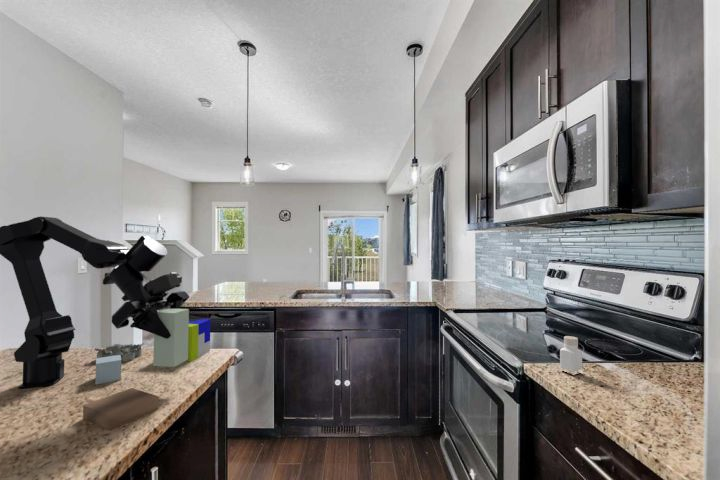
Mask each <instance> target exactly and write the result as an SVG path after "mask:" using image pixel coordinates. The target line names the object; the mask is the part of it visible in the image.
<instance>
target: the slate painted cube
mask: <svg viewBox="0 0 720 480" xmlns="http://www.w3.org/2000/svg"><path fill="white" fill-rule="evenodd" d="M116 381H122V360H121V355H115V356H109V357H102V358H97V357H96V359H95V384H94V385H101V384H106V383H111V382H116Z"/></svg>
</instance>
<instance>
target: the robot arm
mask: <svg viewBox="0 0 720 480" xmlns="http://www.w3.org/2000/svg"><path fill="white" fill-rule="evenodd" d="M51 240H54V241H56V243H57V242H58V243H60V244H62V245H64V246H66V247H68V248H70V249H72V250H74V251H75V252H78V253H79V254H80V255H81V257H82V259H83V260H84V261H85V262H86V263H87V264H88V265H90V266H92V267H93V268H94V269H110V268H113V269H111V271H110V272H105V273H104V277H103V279H102V284H103V285H105V286H107V285H113V284H115V285H116V286H117V288H118V289H119V291H120V292H121V293H122V294H123V296H122V297H121V299H122V301H123V302H124V303H123V304H122V305H121V306H119V308H118V309H117V310H116V311H115V313H113V314H112V315H111V324H112V325H113V326H114V327H115V329H117V330H118V329H121V328H124V327H128V326H130V328H131V329H132V328H135V329H138V330H142V331H144V332H149V333H150V334H153V335H154V334H156V335H158V336H161V337H163V338H166V339H168V338H169V337H170V336H171V334H170V333H169V331H168V329H167V328H166V327H165V325H164V324H163V322H162V321H161V320H160V318H159V317H158V315H157V312H158V311H162V310H165V309H169V308H173V309H181V307H182V306H183V305H184V304H185V303H186V301H188V299H190V295H189V294H188V293H187V292H186V291H184V290H183V291H181V290H180V291H174V292H171V293H170V294H169V291H171V290H172V289H175V288H179V287H181V284H182V282H183V277H182V276H180V275H179V273H177V272H176V271H171V272H170V273H168V274H162V275H160V276H158V277H156V278H152V279H151V278H150V279H148V277H147V276H146V275H145V274H144V273H143V272H151V271H152V270H153V269H154V268H155V267H156V266H157V265H158V264H159V263H160V262H161V261H162V260H163V259H164V258H165V257H166V256H167V255H168V249H167V248H166V246H164V244H162V243H160V242H159V241H157V240H155V239H152V238H151V237H150V236H149V235H141V236H140V237H139V238H138V240H137V242H135V243H134V245H132V246H131V248H130V249H129V248H128V247H127V246H126V245H125V244H121V243H119V242H114V241H112V240H111V241H110V240H105V239H99V238H96V237H95V236H93V235H90V234H88V233H86V232H84V231H82V230H80V229H79V228H76V227H74V226H72V225H70V224H67V223H65V222H63V220H61V219H60V218H57V217H52V216H51V217H50V216H40V215H39V216H37V217H33V218H31V219H29V220H24V221H21V222H16V223H11V224H8V225H2V226H0V255H1V257H3V258H4V259H6V260H7V261H9V263H11V265H12V268H13V271H14V275H15V279H16V280H17V284H18V286H19V287H18V288H19V290H20V292H21V296H22V299H23V303H24V305H25V309H26V312H27V315H28V319H29V320H28V322H27V325H26V327H25V329H24V332H23V334H24V339H25V341H24V342H23V343H22V344H20V345H19V347H18V348H17V349H16V350H14V352H13V356H14V360H15V362H17V363H18V362H19V363H22V383H21V384H20V385H18V389H26V388H34V387H35V388H36V387H42V386H51V385H55V384H56V383H57V382H59V380H61V379H62V378H63V377H64V376H65V359H64V358H63V354H64V353H67V352H69V350H70V347H71V345H72V342H73V339H75V331H76V328H75V326H74V325H73V321H72V317H71V316H70V314H67V315H62V314H61V313H59V312H58V311H57V308H56V305H55V302H54V301H55V300H54V299H53V295H52V292H51V290H50V286H49V283H48V280H47V277H46V273H45V271H44V267H43V265H42V262H41V261H42V260H41V255H42V253H43V251H44V249H45V242H47V241H51ZM165 297H166V298H165ZM164 298H165V299H164ZM129 318H131V319H132V321H133V322H132V323H131V324H130V325H129V323H130V320H129Z"/></svg>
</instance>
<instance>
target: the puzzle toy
mask: <svg viewBox="0 0 720 480" xmlns="http://www.w3.org/2000/svg"><path fill="white" fill-rule="evenodd" d="M207 351H208V352H210V351H211V319H210V318H209V319H208V318H207V319H205V318H204V319H203V318H189V329H188V360H186V361H185V362H192V361H194V360H196V359H198V358H199V357H201V356H203V355H204V354H206V353H208V352H207ZM197 357H198V358H197ZM195 358H196V359H195Z"/></svg>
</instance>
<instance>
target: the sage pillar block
mask: <svg viewBox="0 0 720 480" xmlns="http://www.w3.org/2000/svg"><path fill="white" fill-rule="evenodd" d="M157 315H158V317H159V318H160V320H161V321H162V322H163V324H164V325H165V327H166V328H167V329H168V331H169V333H170V334H171V336H170V337H169V338H168V339H166V338H163V337H161V336H158V335H156V334H153V353H152V354H153V360H152V364H153V365H152V366H153V367H154V366H155V367H166V368H167V367H168V368H174V367H176V366H178V365H180V364H182V363H184V362H187V361H186V360H188V329H189V319H190V309H189V308H180V309H173V308H169V309H165V310H162V311H159V310H157Z"/></svg>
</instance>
